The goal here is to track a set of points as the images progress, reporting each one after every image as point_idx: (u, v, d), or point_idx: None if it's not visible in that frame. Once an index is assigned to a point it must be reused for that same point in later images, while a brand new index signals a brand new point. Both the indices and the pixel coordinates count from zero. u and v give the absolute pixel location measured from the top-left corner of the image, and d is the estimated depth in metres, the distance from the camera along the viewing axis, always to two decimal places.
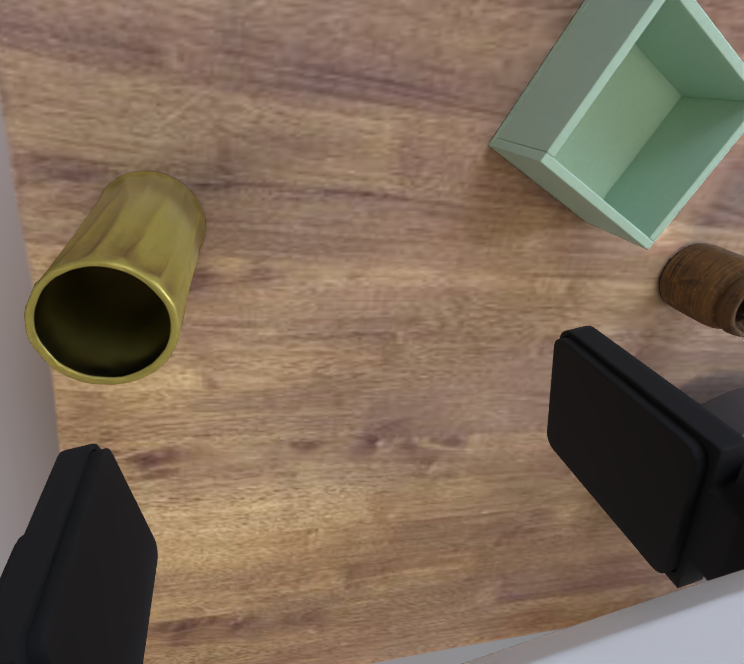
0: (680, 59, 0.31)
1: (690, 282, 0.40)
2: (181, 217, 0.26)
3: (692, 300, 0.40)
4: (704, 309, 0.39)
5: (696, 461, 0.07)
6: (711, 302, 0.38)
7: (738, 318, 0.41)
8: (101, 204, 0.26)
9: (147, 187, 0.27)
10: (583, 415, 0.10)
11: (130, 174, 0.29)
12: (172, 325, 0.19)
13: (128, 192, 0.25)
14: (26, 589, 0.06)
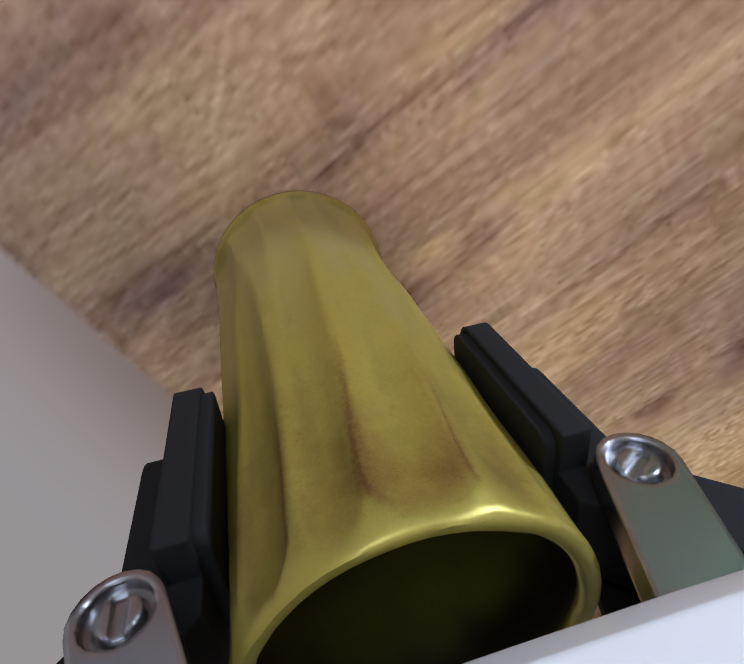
0: None
1: None
2: (346, 247, 0.13)
3: None
4: None
5: (546, 447, 0.08)
6: None
7: None
8: (225, 310, 0.15)
9: (264, 236, 0.14)
10: None
11: (228, 232, 0.17)
12: (579, 560, 0.06)
13: (246, 268, 0.13)
14: (180, 491, 0.08)
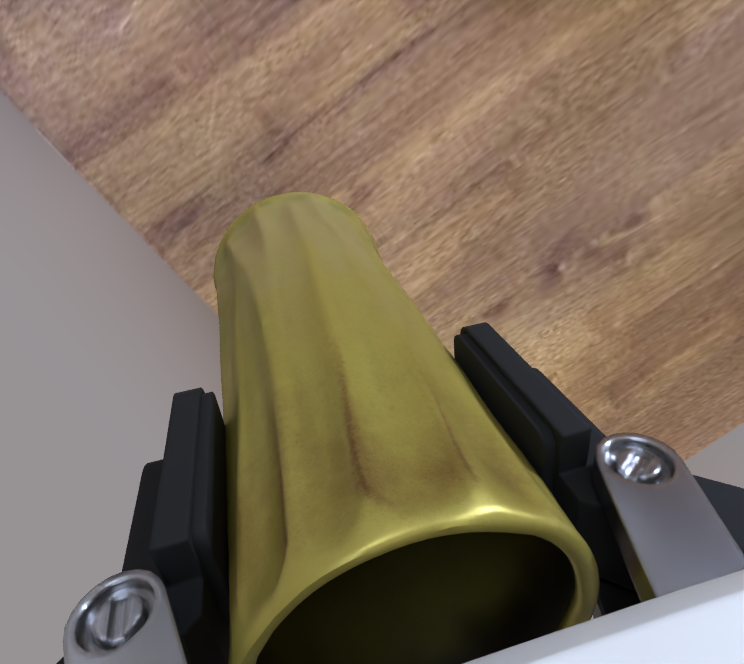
0: None
1: None
2: (345, 248, 0.13)
3: None
4: None
5: (546, 447, 0.08)
6: None
7: None
8: (224, 311, 0.15)
9: (263, 237, 0.14)
10: None
11: (228, 232, 0.17)
12: (577, 560, 0.07)
13: (245, 269, 0.13)
14: (180, 491, 0.08)
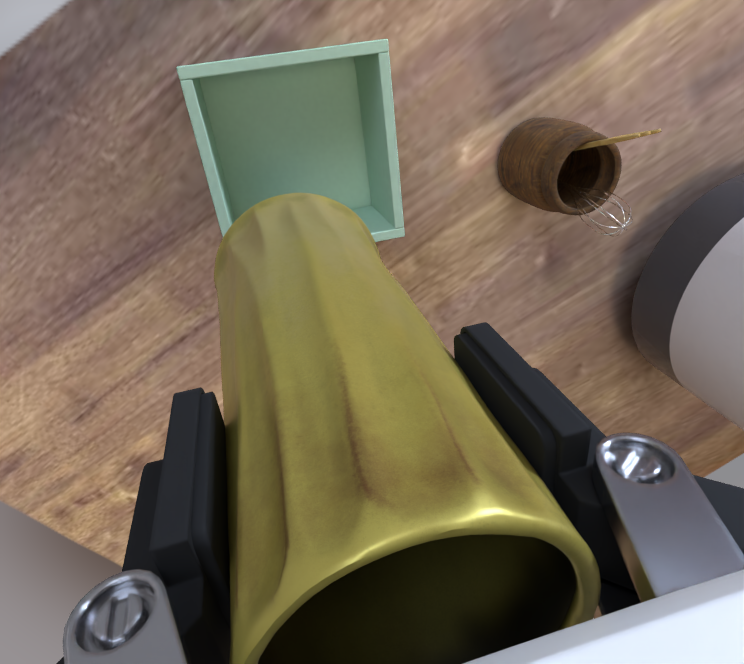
0: None
1: (516, 185, 0.35)
2: (346, 249, 0.13)
3: (529, 201, 0.35)
4: (542, 206, 0.35)
5: (546, 447, 0.08)
6: (540, 198, 0.34)
7: (595, 180, 0.35)
8: (225, 312, 0.15)
9: (264, 238, 0.14)
10: None
11: (228, 233, 0.17)
12: (578, 562, 0.07)
13: (246, 270, 0.13)
14: (180, 492, 0.08)
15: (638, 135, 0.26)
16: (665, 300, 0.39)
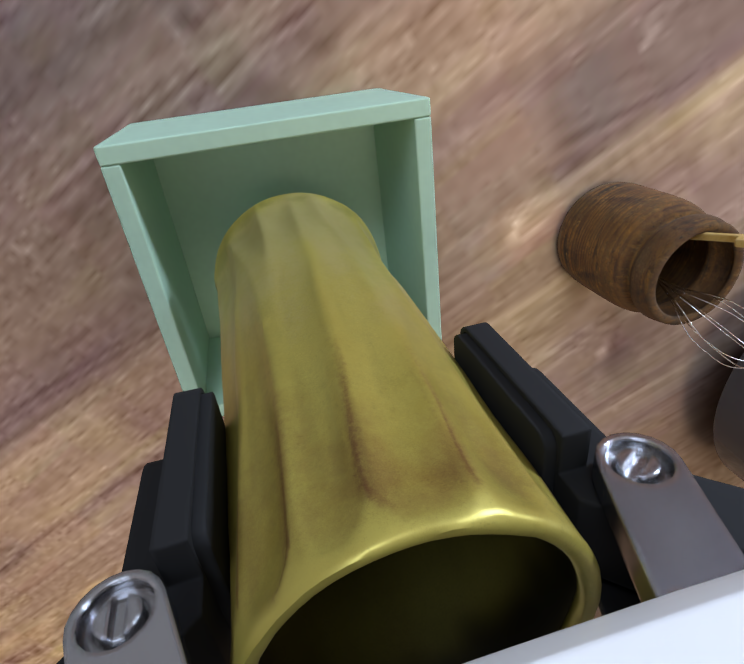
0: None
1: (587, 275, 0.26)
2: (346, 249, 0.13)
3: (605, 297, 0.26)
4: (624, 306, 0.25)
5: (546, 447, 0.08)
6: (624, 299, 0.25)
7: (695, 270, 0.26)
8: (225, 312, 0.15)
9: (264, 238, 0.14)
10: None
11: (228, 233, 0.17)
12: (579, 563, 0.07)
13: (246, 270, 0.13)
14: (180, 491, 0.08)
15: None
16: None
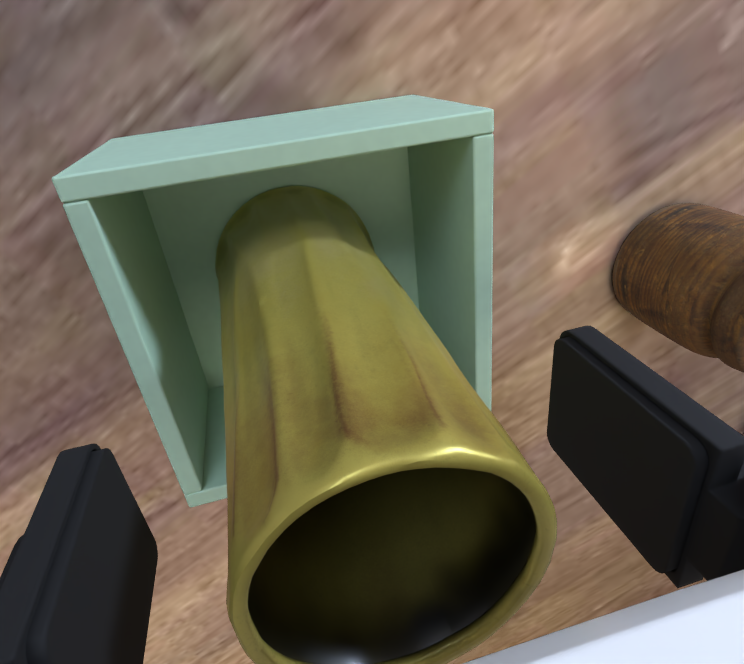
0: None
1: (652, 314, 0.22)
2: (338, 236, 0.14)
3: (673, 339, 0.22)
4: (699, 352, 0.21)
5: (696, 461, 0.07)
6: (701, 344, 0.21)
7: None
8: (225, 297, 0.16)
9: (262, 227, 0.15)
10: (583, 415, 0.10)
11: (229, 224, 0.18)
12: (534, 499, 0.07)
13: (245, 256, 0.14)
14: (26, 589, 0.06)
15: None
16: None
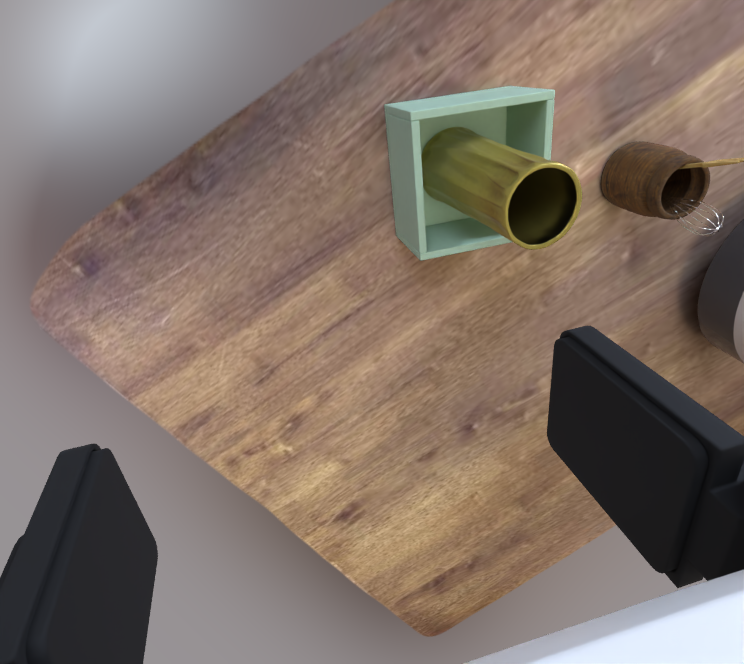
0: None
1: (620, 195, 0.45)
2: None
3: (631, 208, 0.45)
4: (643, 212, 0.44)
5: (696, 461, 0.07)
6: (643, 206, 0.43)
7: (684, 192, 0.44)
8: (440, 168, 0.38)
9: (456, 139, 0.38)
10: (583, 415, 0.10)
11: (429, 143, 0.40)
12: (576, 183, 0.30)
13: (455, 148, 0.37)
14: (26, 589, 0.06)
15: (738, 161, 0.35)
16: (731, 288, 0.49)
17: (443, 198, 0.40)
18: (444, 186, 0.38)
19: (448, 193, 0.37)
